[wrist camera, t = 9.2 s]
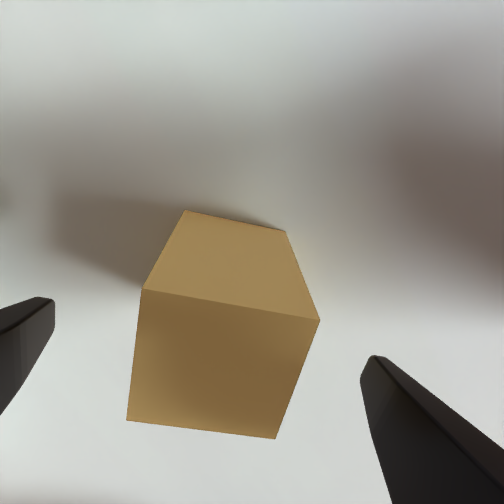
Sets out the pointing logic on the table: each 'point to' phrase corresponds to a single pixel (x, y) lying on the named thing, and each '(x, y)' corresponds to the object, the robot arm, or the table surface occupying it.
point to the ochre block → (221, 329)
